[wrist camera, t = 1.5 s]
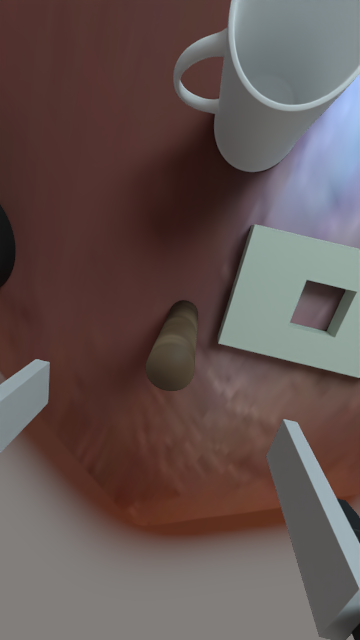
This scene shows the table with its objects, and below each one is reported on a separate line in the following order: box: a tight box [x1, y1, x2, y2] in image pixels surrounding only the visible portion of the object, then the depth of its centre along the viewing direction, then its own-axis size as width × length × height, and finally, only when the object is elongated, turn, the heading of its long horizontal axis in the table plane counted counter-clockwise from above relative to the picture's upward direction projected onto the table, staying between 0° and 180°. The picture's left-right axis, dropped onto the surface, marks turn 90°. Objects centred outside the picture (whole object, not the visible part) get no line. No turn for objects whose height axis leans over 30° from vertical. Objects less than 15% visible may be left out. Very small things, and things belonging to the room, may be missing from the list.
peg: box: [145, 300, 198, 391], centre depth 24 cm, size 4×4×14 cm
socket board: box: [218, 224, 360, 378], centre depth 28 cm, size 20×14×2 cm
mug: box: [173, 0, 360, 172], centre depth 18 cm, size 12×8×12 cm
